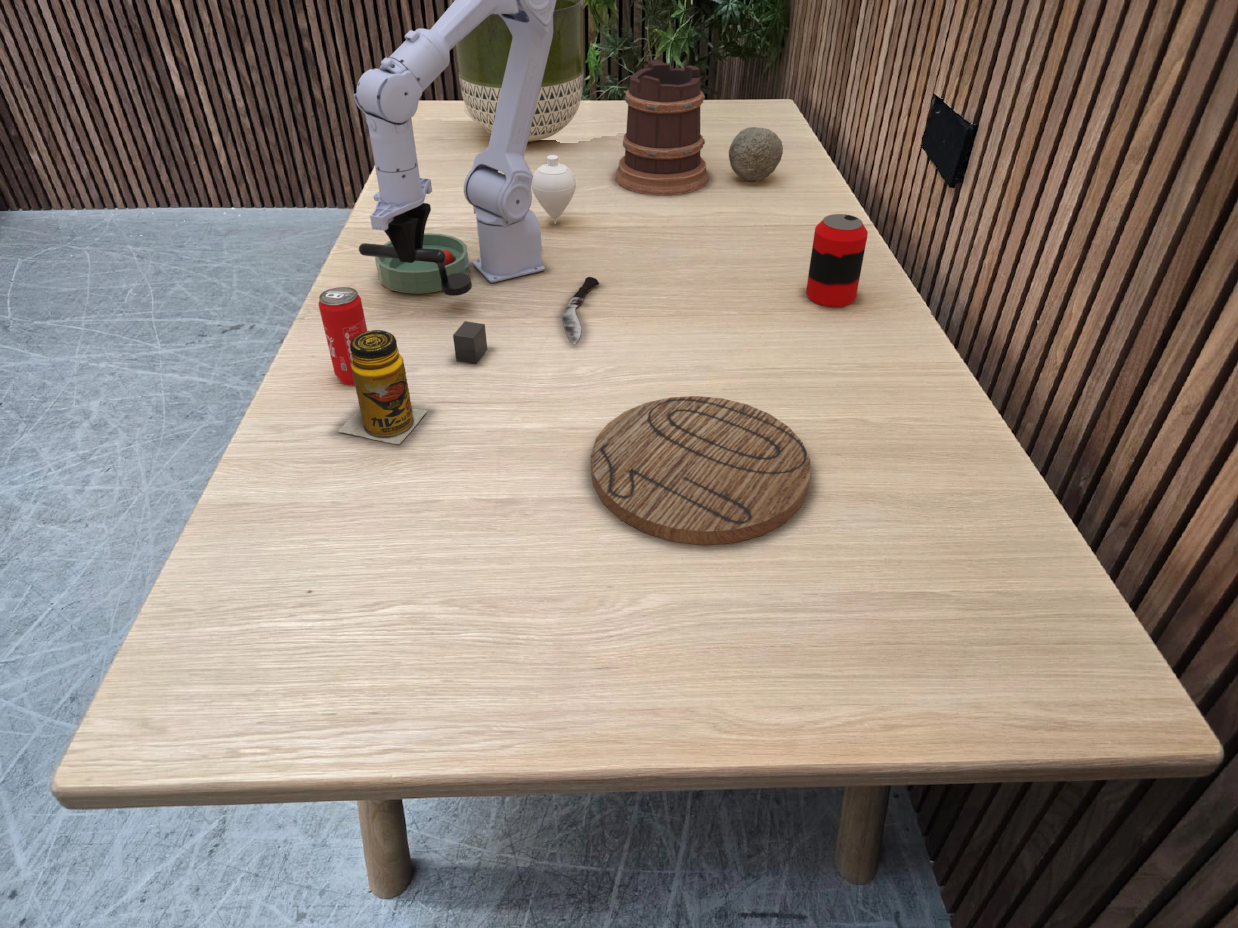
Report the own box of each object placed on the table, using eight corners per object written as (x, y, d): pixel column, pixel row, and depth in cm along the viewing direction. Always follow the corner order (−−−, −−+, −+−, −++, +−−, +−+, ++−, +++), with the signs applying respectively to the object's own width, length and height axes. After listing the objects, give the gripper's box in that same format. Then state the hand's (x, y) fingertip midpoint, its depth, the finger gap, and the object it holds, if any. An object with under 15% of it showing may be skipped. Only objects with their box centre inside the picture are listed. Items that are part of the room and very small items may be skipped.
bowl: (451, 249, 149) (448, 226, 147) (483, 283, 139) (480, 259, 137) (368, 267, 144) (363, 244, 141) (395, 304, 134) (391, 280, 132)
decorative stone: (729, 189, 170) (734, 136, 164) (724, 173, 177) (728, 121, 171) (783, 188, 171) (789, 135, 164) (775, 172, 177) (781, 121, 171)
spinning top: (526, 229, 156) (521, 160, 148) (545, 213, 161) (541, 146, 154) (566, 235, 153) (563, 167, 146) (583, 219, 159) (582, 152, 152)
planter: (465, 118, 204) (452, -13, 187) (581, 115, 206) (578, -15, 189) (462, 159, 183) (446, 16, 166) (590, 154, 185) (588, 12, 169)
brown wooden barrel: (696, 152, 186) (701, 50, 174) (717, 193, 169) (725, 82, 156) (608, 155, 185) (607, 52, 172) (620, 197, 167) (620, 86, 155)
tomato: (439, 264, 144) (456, 258, 144) (440, 275, 142) (457, 269, 142) (431, 249, 142) (448, 243, 141) (432, 260, 140) (449, 254, 139)
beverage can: (366, 389, 116) (348, 307, 108) (329, 384, 117) (309, 303, 109) (382, 368, 120) (366, 287, 112) (346, 364, 121) (328, 284, 113)
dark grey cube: (487, 349, 124) (485, 323, 121) (476, 364, 121) (473, 338, 118) (467, 346, 124) (464, 320, 122) (456, 361, 121) (452, 335, 119)
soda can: (865, 295, 136) (879, 221, 129) (838, 313, 132) (851, 237, 124) (823, 280, 140) (834, 207, 133) (795, 297, 136) (806, 222, 128)
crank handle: (476, 281, 132) (469, 245, 128) (465, 297, 129) (457, 261, 125) (374, 271, 136) (365, 236, 132) (361, 286, 133) (350, 251, 129)
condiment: (399, 445, 106) (383, 359, 99) (337, 432, 108) (317, 347, 101) (428, 412, 112) (414, 328, 104) (368, 400, 114) (350, 317, 106)
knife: (593, 339, 124) (557, 341, 124) (593, 348, 125) (558, 349, 125) (599, 276, 138) (567, 277, 139) (599, 284, 139) (568, 285, 139)
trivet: (750, 577, 89) (752, 563, 88) (548, 492, 100) (547, 479, 98) (841, 449, 106) (843, 436, 105) (659, 387, 116) (659, 375, 115)
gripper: (394, 145, 127) (408, 234, 136) (343, 181, 116) (361, 276, 125) (440, 149, 126) (451, 240, 134) (391, 186, 115) (407, 282, 123)
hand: (411, 257), depth 129 cm, fingers closed on crank handle, 2 cm apart
